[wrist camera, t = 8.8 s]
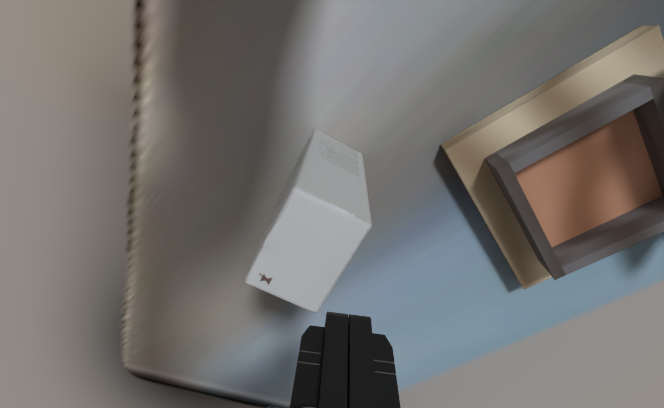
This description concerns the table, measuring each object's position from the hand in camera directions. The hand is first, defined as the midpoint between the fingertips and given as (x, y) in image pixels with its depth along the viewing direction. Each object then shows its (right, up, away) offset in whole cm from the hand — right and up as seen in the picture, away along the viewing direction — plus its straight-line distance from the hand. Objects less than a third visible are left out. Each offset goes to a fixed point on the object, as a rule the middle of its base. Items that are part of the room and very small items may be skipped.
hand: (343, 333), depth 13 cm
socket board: (+17, +7, +15) cm, 24 cm away
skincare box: (-1, +7, +16) cm, 17 cm away
